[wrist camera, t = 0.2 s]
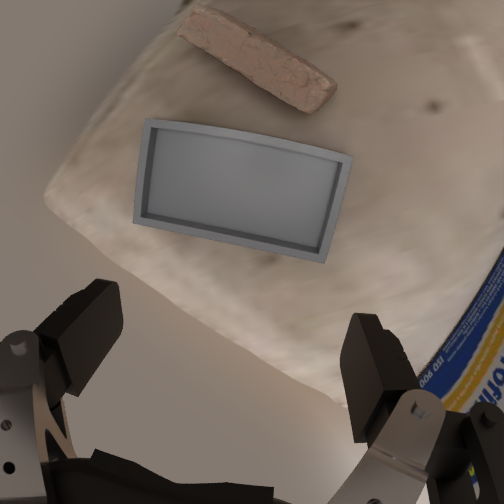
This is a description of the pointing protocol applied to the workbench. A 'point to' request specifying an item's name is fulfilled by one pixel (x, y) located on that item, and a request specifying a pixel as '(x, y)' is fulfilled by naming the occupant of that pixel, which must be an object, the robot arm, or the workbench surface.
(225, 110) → the workbench surface
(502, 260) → the construction material bag
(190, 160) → the tray
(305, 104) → the brick
